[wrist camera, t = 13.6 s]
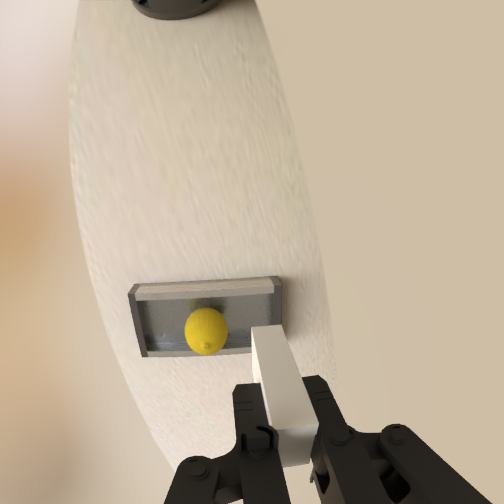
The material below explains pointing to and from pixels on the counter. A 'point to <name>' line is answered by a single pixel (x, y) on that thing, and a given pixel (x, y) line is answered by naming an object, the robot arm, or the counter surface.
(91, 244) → the counter surface
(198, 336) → the lemon
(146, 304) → the tray
